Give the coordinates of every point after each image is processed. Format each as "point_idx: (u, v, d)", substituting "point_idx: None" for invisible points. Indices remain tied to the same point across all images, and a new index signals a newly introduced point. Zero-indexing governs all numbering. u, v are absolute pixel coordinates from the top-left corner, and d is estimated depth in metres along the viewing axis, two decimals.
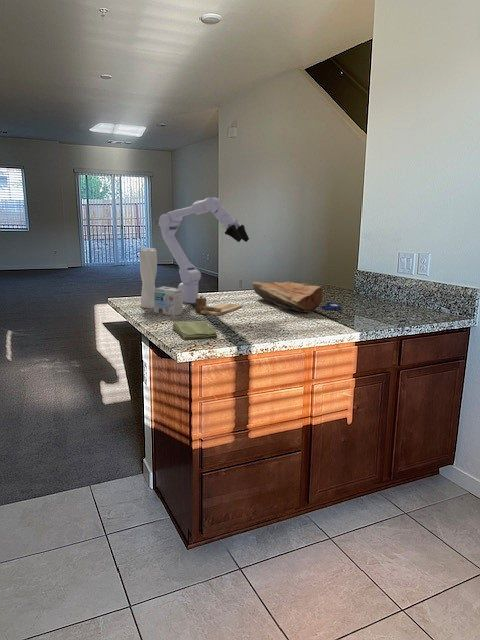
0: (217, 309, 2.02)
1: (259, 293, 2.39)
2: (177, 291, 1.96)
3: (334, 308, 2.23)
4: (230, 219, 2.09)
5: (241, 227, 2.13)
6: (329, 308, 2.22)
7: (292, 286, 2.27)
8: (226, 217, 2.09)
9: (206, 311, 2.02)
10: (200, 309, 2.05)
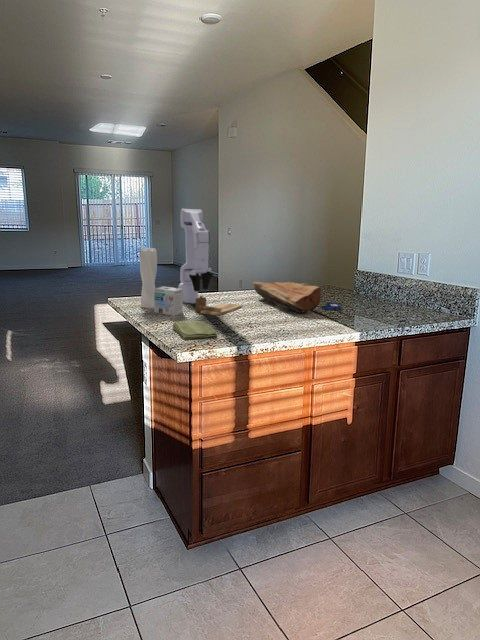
0: (217, 309, 2.02)
1: (260, 293, 2.40)
2: (177, 291, 1.96)
3: (334, 308, 2.23)
4: (203, 266, 2.00)
5: (209, 275, 2.06)
6: (329, 308, 2.22)
7: (292, 286, 2.27)
8: (202, 261, 2.00)
9: (206, 311, 2.02)
10: (200, 309, 2.05)
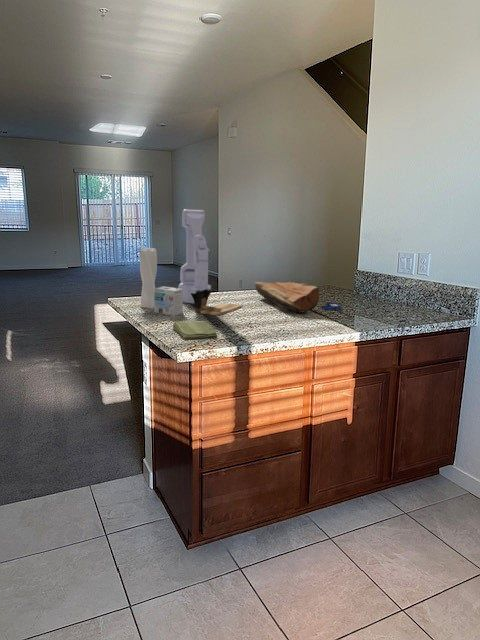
0: (217, 309, 2.02)
1: (261, 293, 2.40)
2: (177, 291, 1.96)
3: (334, 308, 2.23)
4: (203, 284, 2.02)
5: (207, 293, 2.07)
6: (329, 308, 2.22)
7: (292, 286, 2.27)
8: (202, 280, 2.02)
9: (206, 311, 2.02)
10: (200, 309, 2.05)
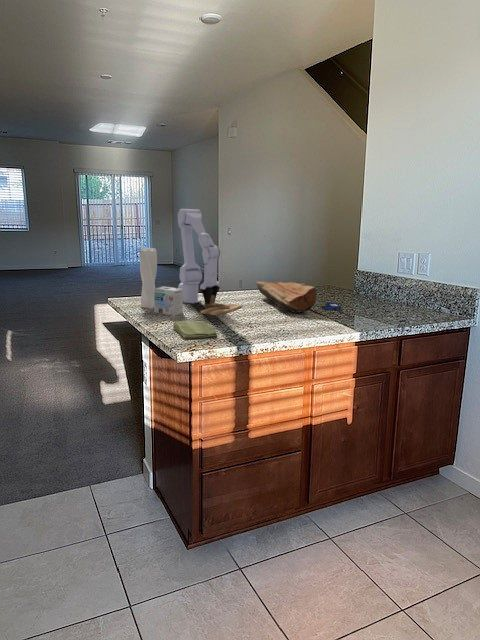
0: (225, 306, 2.10)
1: (262, 293, 2.41)
2: (177, 291, 1.96)
3: (334, 308, 2.23)
4: (212, 280, 2.09)
5: (216, 289, 2.14)
6: (329, 308, 2.22)
7: (292, 286, 2.27)
8: (211, 276, 2.09)
9: (206, 311, 2.02)
10: (209, 306, 2.12)
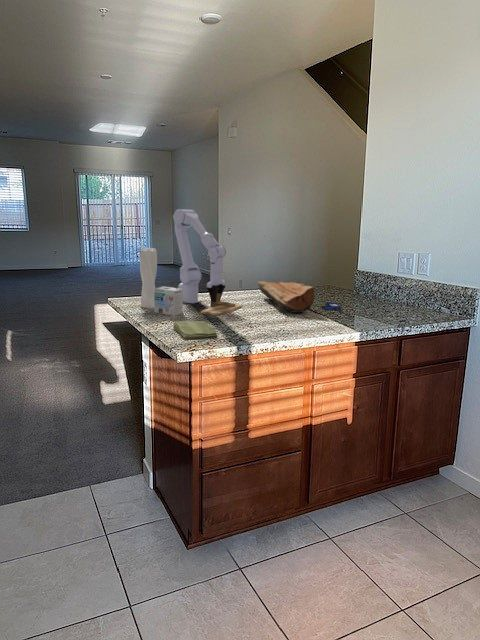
0: (231, 304, 2.15)
1: (264, 292, 2.42)
2: (177, 291, 1.96)
3: (334, 308, 2.23)
4: (218, 279, 2.14)
5: (221, 287, 2.19)
6: (329, 308, 2.22)
7: (292, 286, 2.27)
8: (217, 275, 2.14)
9: (206, 311, 2.02)
10: (215, 304, 2.17)
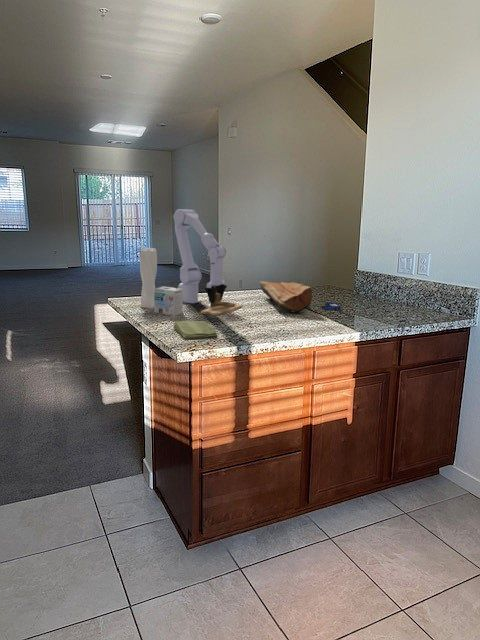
0: (231, 304, 2.15)
1: (265, 292, 2.42)
2: (177, 291, 1.96)
3: (334, 308, 2.23)
4: (218, 279, 2.14)
5: (223, 287, 2.20)
6: (329, 308, 2.22)
7: (292, 286, 2.27)
8: (217, 275, 2.14)
9: (206, 311, 2.02)
10: (215, 304, 2.17)
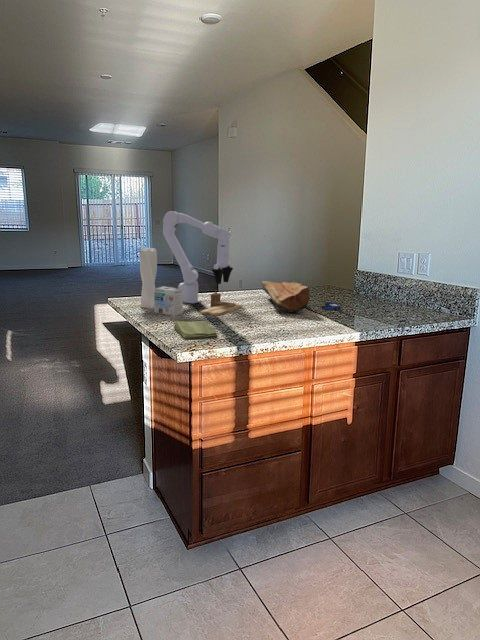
0: (231, 304, 2.15)
1: (266, 292, 2.43)
2: (177, 291, 1.96)
3: (334, 308, 2.23)
4: (225, 261, 2.21)
5: (229, 269, 2.27)
6: (329, 308, 2.22)
7: (292, 286, 2.27)
8: (224, 257, 2.21)
9: (206, 311, 2.02)
10: (215, 304, 2.17)
